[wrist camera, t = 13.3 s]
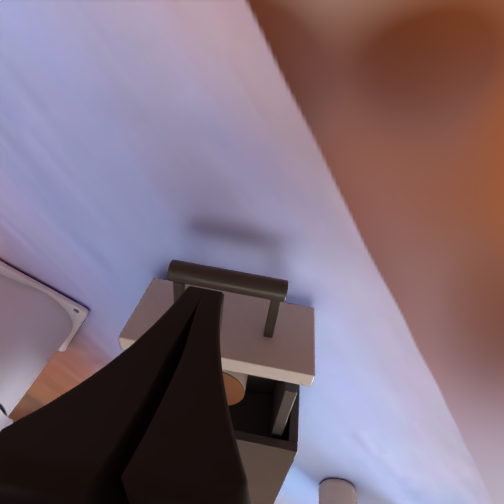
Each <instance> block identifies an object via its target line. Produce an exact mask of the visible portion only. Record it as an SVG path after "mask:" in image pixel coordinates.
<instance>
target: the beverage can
mask: <svg viewBox="0 0 504 504" xmlns="http://www.w3.org/2000/svg"><path fill="white" fill-rule="evenodd" d="M319 504H357V495H356V490H355V489H354V487H353V486H352V484H350V483H349V482H347V481H344V480H340V479H327V480H324V481H323V482H322V483H321V485H320V486H319Z"/></svg>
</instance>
